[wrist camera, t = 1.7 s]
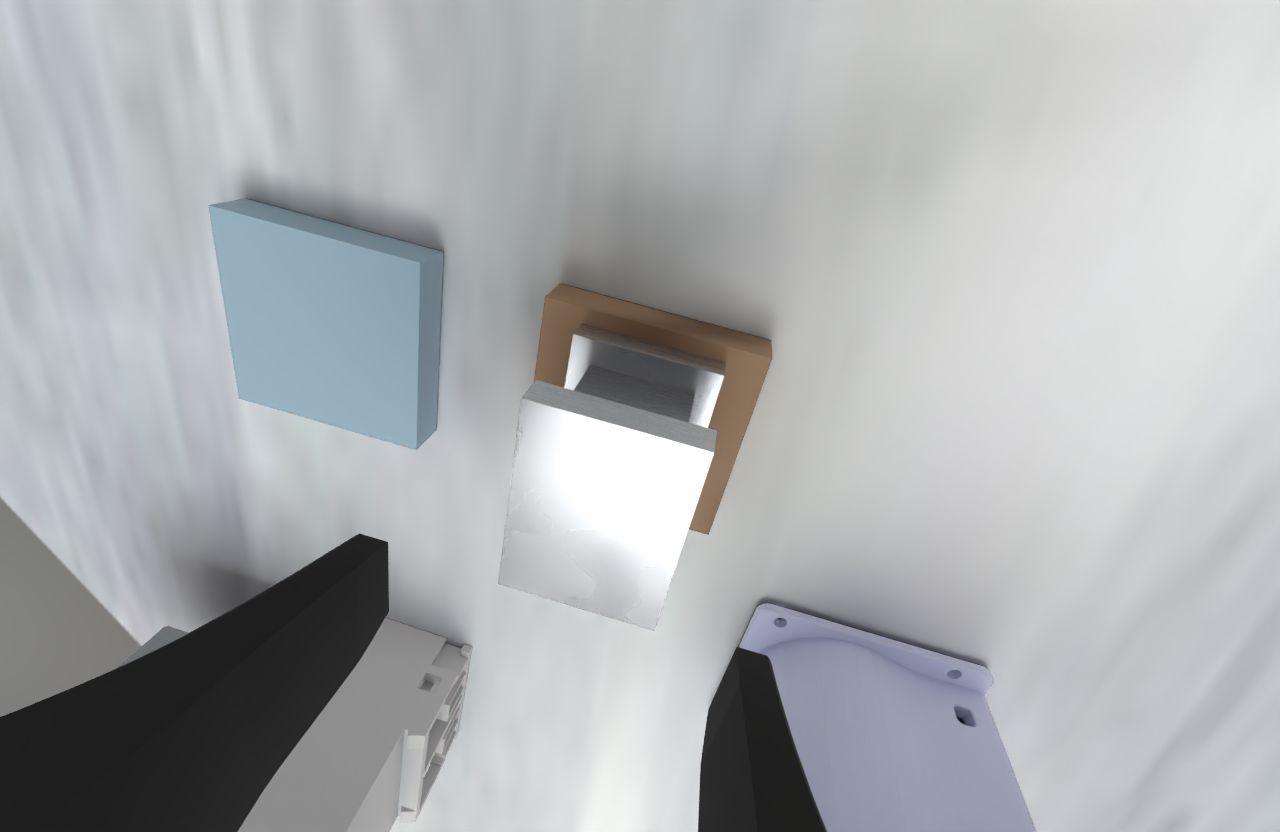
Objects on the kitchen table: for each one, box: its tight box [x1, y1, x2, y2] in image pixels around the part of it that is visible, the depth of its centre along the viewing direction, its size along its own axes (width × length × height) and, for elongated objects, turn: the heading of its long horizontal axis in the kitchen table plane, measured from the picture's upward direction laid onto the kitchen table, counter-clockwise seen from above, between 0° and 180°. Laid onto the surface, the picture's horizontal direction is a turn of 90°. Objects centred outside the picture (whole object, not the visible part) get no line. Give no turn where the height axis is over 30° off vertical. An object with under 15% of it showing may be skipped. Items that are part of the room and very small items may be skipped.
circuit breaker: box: [118, 618, 472, 832], centre depth 24 cm, size 8×14×15 cm, turn 76°
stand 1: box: [208, 199, 444, 450], centre depth 20 cm, size 7×7×2 cm
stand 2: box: [534, 284, 772, 534], centre depth 20 cm, size 7×7×2 cm
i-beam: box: [498, 323, 726, 631], centre depth 17 cm, size 4×6×5 cm
